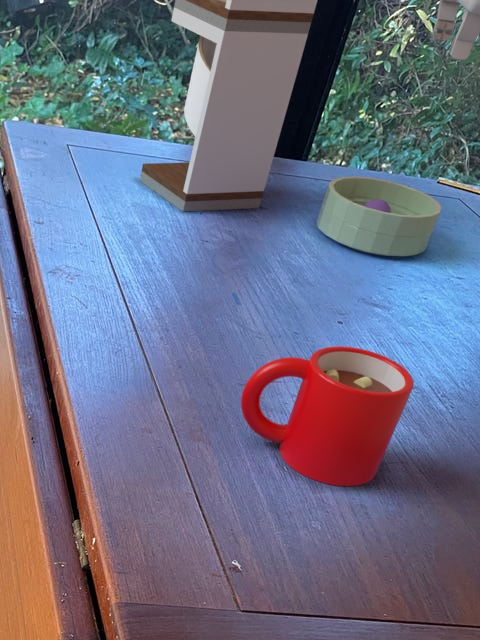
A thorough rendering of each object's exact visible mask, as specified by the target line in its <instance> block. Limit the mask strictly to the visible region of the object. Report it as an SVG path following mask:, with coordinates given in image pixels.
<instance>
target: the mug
mask: <svg viewBox="0 0 480 640" xmlns="http://www.w3.org/2000/svg"><path fill="white" fill-rule="evenodd" d="M287 377H288V378H291V377H292V378H297V379H301V383H300V386H299V388H298V392H297V395H296V397H295V400H294V403H293V406H292V409H291V412H290V414H289V418H288V421H287V424H282V423H278V422H275V421H272V420H271V419H269V418H268V417H267V416H265V414H264V413H263V411H262V407H261V396H262V395H263V394H262V393H263V392H264V390H265V388H267V386H269V385H270V384H271V383H273V382H274V381H276V380H279V379H283V378H287ZM413 390H414V379H413V377H412V375H411V373H410V372H409V371H408V370H407V369H406V368H405V367H404V366H402V365H401V364H400V363H397V362H396V361H395V360H393V359H391V358H389V357H387V356H384V355H382V354H380V353H377V352H374V351H372V350H367V349H363V348H359V347H352V346H343V345H342V346H341V345H339V346H337V345H335V346H327V347H323V348H320V349H317V350H316V351H314V352H313V353H312V355H311V356H310V358H309V359H306V358H303V357H294V356H293V357H292V356H291V357H289V356H288V357H281V358H277V359H274V360H271V361H269V362H266V363H265V364H264V365H261V367H259V368H258V369H257V370H255V372H253V374H252V375H251V376H250V378H249V379H248V380H247V382H246V383H245V385H244V386H243V391H242V394H241V399H240V405H241V406H240V407H241V412H242V415H243V418H244V421H245V422H246V423H247V425H248V426H249V428H250V429H251V430H252V431H253V432H254V433H255V434H257V435H258V436H259V437H261V438H263V439H265V440H267V441H271V442H274V443H280V444H279V448H278V449H279V454H280V456H281V458H282V460H283V461H284V462H285V463H286V464H287V465H288V466H289V467H290V468H291V469H293V470H294V471H296V472H297V473H299V474H300V475H303V476H305V477H306V478H309V479H311V480H314V481H317V482H319V483H322V484H323V483H324V484H327V485H332V486H339V487H356V486H361V485H364V484H367V483H370V482H371V481H372V480H373V479H374V478H375V476H376V474H377V472H378V469H379V468H380V465H381V464H382V461H383V458H384V456H385V454H386V451H387V449H388V447H389V444H390V442H391V440H392V437H393V436H394V433H395V431H396V429H397V427H398V424H399V421H400V419H401V417H402V414H403V413H404V409H405V407H406V405H407V402H408V400H409V398H410V396H411V393H412V392H413Z"/></svg>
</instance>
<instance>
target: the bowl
mask: <svg viewBox="0 0 480 640" xmlns="http://www.w3.org/2000/svg"><path fill="white" fill-rule="evenodd" d="M374 199H381V200H384V201H385V202H387V204H388V205H389V206H390V209H391V213H388V212H383V211H379V210H375V209H371V208H368V207H365V206H364V205H365V204H366V203H367V202H369V201H371V200H374ZM442 209H443V208H442V206H441V204H440V202H439V201H438V200H436V199H435V198H433V197H432V196H431V195H429V194H427V193H425V192H423V191H421V190H419V189H416V188H414V187H410V186H408V185H406V184H402V183H398V182H394V181H391V180H387V179H380V178H376V177H375V178H374V177H370V176H369V177H367V176H355V175H354V176H341V177H337V178H334V179H331V181H330V182H329V183H328V185H327V188H326V191H325V194H324V197H323V201H322V203H321V207H320V210H319V213H318V216H317V220H316V226H317V228H318V230H319V231H321V232H322V233H323V234H324V235H325V236H326V237H327V238H330V239H332V240H333V241H335V242H337V243H339V244H341V245H342V246H345V247H348V248H350V249H353V250H355V251H359V252H361V253H362V252H363V253H366V254H371V255H376V256H382V257H383V256H384V257H385V256H386V257H410V256H417V255H419V254H421V253H423V252H425V251H426V249H427V247H428V244H429V241H430V239H431V237H432V234H433V232H434V229H435V227H436V224H437V222H438V219H439V217H440V214H441V212H442Z"/></svg>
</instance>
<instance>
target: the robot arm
mask: <svg viewBox="0 0 480 640" xmlns="http://www.w3.org/2000/svg"><path fill="white" fill-rule="evenodd" d="M460 5H461V6H462V7H463V8H464V11H463V14H462V17H461V24H460V26H459V28H458V31H457V33H456V35H455V36H453V35H452V34H453V32H454V29H455V26H456V18H457V15H458V11H459V8H460ZM436 15H437V16H436V21H435V23H434V27H433V30H432V35H431V36H432V37H433V38H434V39H435V40H437V41H444V42H447V41H449V40H450V39H451V37H452V36H453V38H452V41H451V45H450V47H449V51H448V54H449V56H450V57H451V58H452V59H453V60H458V61H459V60H460V61H465V60H467V59H468V58H469V56H470V55H471V54H470V53H471V51H472V48H473V47H474V43H475V41H476V40H477V38H478V37H479V35H480V0H439V3H438V9H437V14H436Z"/></svg>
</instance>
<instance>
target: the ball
mask: <svg viewBox="0 0 480 640" xmlns="http://www.w3.org/2000/svg"><path fill="white" fill-rule="evenodd" d="M364 206H365V207H368V208H371V209H375V210H379V211H383V212H388V213H391V209H390V206H389V205H388V204H387V202H385V201H384V200H381V199H374V200H371V201H369V202H367V203H366V204H365V205H364Z"/></svg>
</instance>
